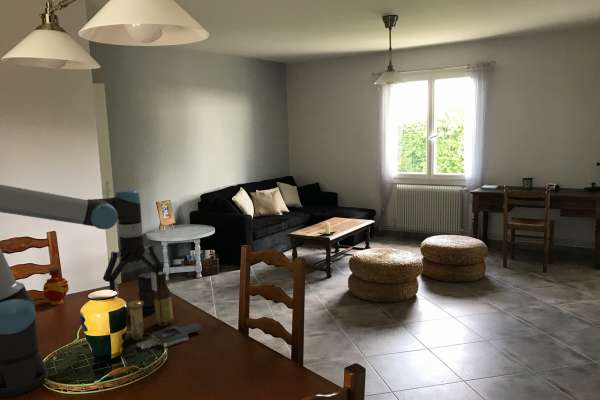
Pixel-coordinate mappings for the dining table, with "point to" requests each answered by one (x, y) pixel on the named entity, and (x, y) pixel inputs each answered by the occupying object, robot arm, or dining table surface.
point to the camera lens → (146, 293)
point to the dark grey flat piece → (178, 333)
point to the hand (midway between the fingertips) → (135, 294)
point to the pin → (136, 318)
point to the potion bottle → (55, 287)
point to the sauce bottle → (163, 302)
